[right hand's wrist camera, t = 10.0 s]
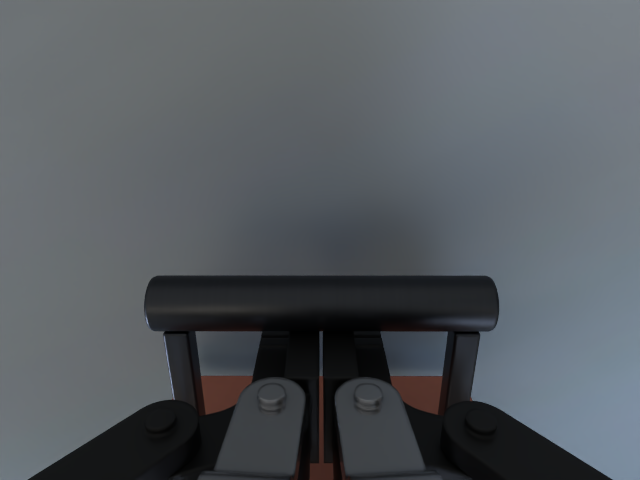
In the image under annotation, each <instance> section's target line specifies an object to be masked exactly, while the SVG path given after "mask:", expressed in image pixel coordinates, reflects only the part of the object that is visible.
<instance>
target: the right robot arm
mask: <svg viewBox="0 0 640 480" xmlns="http://www.w3.org/2000/svg"><path fill="white" fill-rule="evenodd" d="M323 437H324V463H333V480H612V479H610V478H609V477H607V476H606V475H604V474H602V473H601V472H599V471H598V470H596V469H594V468H593V467H591V466H590V465H588V464H586V463H585V462H583V461H582V460H580V459H578V458H577V457H575V456H574V455H572V454H570V453H569V452H567V451H566V450H564V449H562V448H561V447H559V446H557V445H556V444H554V443H553V442H551V441H549V440H548V439H546V438H545V437H543V436H541V435H540V434H538V433H537V432H535V431H533V430H532V429H530V428H529V427H527V426H525V425H524V424H522V423H521V422H519V421H517V420H516V419H514V418H513V417H511V416H509V415H508V414H506V413H505V412H503V411H501V410H500V409H498V408H496V407H494V406H491V405H489V404H486V403H482V402H477V401H462V402H458V403H455V404H453V405H451V406H450V407H449V408H447V410H446V411H445V413H444V416H441V415H437V414H433V413H429V412H425V411H422V410H419V409H416V408H414V407H412V406H410V405H408V404H407V403H405V402H404V401H403V400H402V398H401V396H400V393H399V392H398V391H397V389H396V388H394V387H393V386H392V383H391V378H390V374H389V369H388V365H387V360H386V356H385V351H384V348H383V342H382V338H381V333H380V331H323ZM310 463H319V331H262V335H261V340H260V345H259V350H258V354H257V359H256V364H255V368H254V373H253V378H252V383H251V384H249V385H248V386H247V387H246V388H245V389H243V391H242V392H241V394H240V396H239V398H238V401H237V404H235V405H233V406H232V407H230V408H227V409H225V410H222V411H219V412H215V413H211V414H207V415H203V416H199V417H198V413H197V411H196V409H195V408H194V407H193V406H192V405H191V404H189V403H187V402H184V401H179V400H164V401H159V402H156V403H152V404H150V405H148V406H146V407H144V408H142V409H140V410H139V411H137V412H135V413H134V414H132V415H131V416H129V417H127V418H126V419H124V420H123V421H121V422H119V423H118V424H116V425H115V426H113V427H111V428H110V429H108V430H107V431H105V432H103V433H102V434H100V435H99V436H97V437H95V438H94V439H92V440H91V441H89V442H87V443H86V444H84V445H83V446H81V447H79V448H78V449H76V450H75V451H73V452H71V453H70V454H68V455H66V456H65V457H63V458H62V459H60V460H58V461H57V462H55V463H54V464H52V465H50V466H49V467H47V468H46V469H44V470H42V471H41V472H39V473H38V474H36V475H34V476H33V477H31V478H30V479H28V480H310Z"/></svg>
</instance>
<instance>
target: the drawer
mask: <svg viewBox="0 0 640 480" xmlns="http://www.w3.org/2000/svg"><path fill="white" fill-rule="evenodd" d="M144 312H145V319H146V323H147V325H148V327H149V328H150V329H151V330H153V331H165V332H164V334H163V337H164V343H165V349H166V356H167V362H168V368H169V374H170V381H171V387H172V393H173V399H172V400H179V401H184V402H187V403H189V404H191V405H192V406H193V407H194V408H195V409H196V411H197V413H198V417H199V416H203V415H207V414H211V413H215V412H219V411H222V410H225V409H227V408H230V407H232V406H233V405H235V404H237V401H238V398H239V396H240V394H241V392H242V391H243V389H245V388H246V387H247V386H248V385H249V384H251V383H252V378H253V376H201V373H200V365H199V358H198V350H197V342H196V334H195V331H448V336H447V344H446V352H445V360H444V368H443V376H390V378H391V383H392V386H393V387H394V388H396V389H397V391H398V392H399V393H400V396H401V398H402V400H403V401H404V402H405V403H407V404H408V405H410V406H412V407H414V408H416V409H419V410H422V411H425V412H429V413H433V414H437V415H441V416H444V413H445V411H446V410H447V408H449V407H450V406H451V405H453V404H455V403H458V402H462V401H472V399H471V390H472V384H473V378H474V371H475V365H476V359H477V352H478V346H479V340H480V333H479V331H491V330H493V329H494V328H495V326H496V324H497V321H498V315H499V298H498V293H497V289H496V286H495V283H494V281H493V280H492V279H491V278H490V277H488V276H155V277H153V278H152V279H151V280H150V282H149V284H148V286H147V290H146V294H145V301H144ZM310 480H333V463H324V437H323V376H319V463H310Z"/></svg>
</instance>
